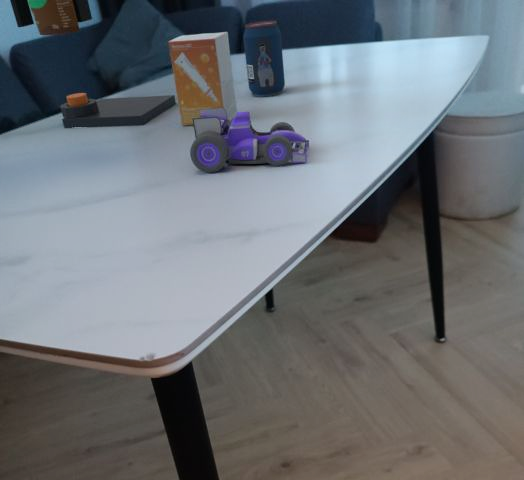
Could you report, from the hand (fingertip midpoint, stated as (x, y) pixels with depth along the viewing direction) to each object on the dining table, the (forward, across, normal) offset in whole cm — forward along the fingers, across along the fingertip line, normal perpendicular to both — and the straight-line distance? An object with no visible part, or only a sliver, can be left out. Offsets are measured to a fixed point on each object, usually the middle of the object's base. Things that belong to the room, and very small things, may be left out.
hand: (54, 23), depth 80 cm
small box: (+18, -12, -19) cm, 29 cm away
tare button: (+15, +14, -21) cm, 30 cm away
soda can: (+18, -17, -38) cm, 46 cm away
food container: (+1, 0, 0) cm, 1 cm away
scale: (+18, +8, -25) cm, 32 cm away
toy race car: (+18, -26, +2) cm, 32 cm away
